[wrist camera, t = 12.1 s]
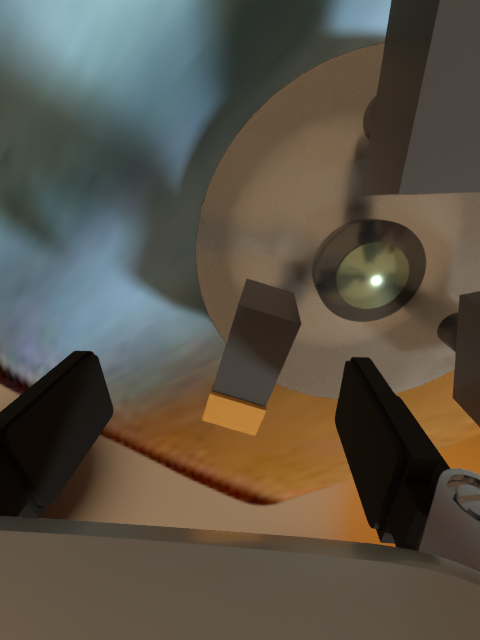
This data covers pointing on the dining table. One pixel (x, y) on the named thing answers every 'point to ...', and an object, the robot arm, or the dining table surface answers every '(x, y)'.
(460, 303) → the grey and orange block
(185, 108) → the dining table surface
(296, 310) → the grey chuck jaw
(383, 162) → the orange-tipped grey bar
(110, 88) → the dining table surface
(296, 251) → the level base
